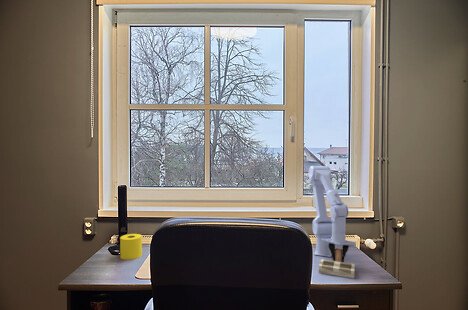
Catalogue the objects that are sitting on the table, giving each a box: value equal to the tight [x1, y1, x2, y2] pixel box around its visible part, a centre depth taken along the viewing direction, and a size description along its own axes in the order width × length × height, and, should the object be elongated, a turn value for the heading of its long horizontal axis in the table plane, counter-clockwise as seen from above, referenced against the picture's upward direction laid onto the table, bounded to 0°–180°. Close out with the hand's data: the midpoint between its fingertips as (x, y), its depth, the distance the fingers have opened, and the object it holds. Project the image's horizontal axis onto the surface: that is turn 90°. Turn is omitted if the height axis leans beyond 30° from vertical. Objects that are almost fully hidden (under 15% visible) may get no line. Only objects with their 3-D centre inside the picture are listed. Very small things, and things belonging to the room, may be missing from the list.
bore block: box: [318, 259, 356, 279], centre depth 128 cm, size 8×14×3 cm, turn 66°
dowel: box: [335, 247, 342, 262], centre depth 135 cm, size 3×3×7 cm
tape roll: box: [119, 233, 143, 261], centre depth 146 cm, size 10×10×9 cm
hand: (338, 260), depth 135 cm, fingers closed on dowel, 3 cm apart
